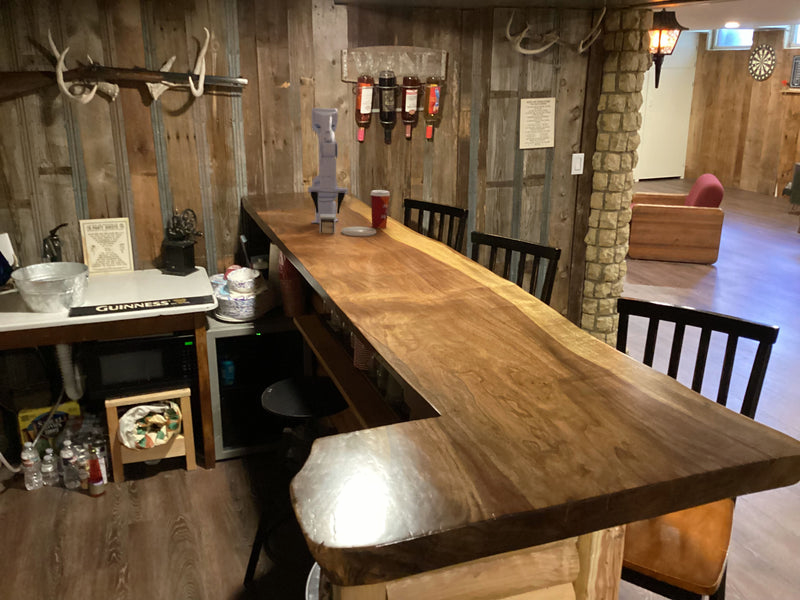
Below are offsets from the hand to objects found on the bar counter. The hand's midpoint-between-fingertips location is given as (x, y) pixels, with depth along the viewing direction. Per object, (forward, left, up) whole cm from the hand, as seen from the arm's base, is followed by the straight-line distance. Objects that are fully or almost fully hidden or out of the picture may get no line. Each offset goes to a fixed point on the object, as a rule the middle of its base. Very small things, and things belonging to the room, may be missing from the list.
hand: (327, 212), depth 258 cm
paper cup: (-18, +14, -7) cm, 24 cm away
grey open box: (0, 0, -7) cm, 7 cm away
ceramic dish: (-4, +11, -7) cm, 14 cm away
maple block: (0, 0, -7) cm, 7 cm away
